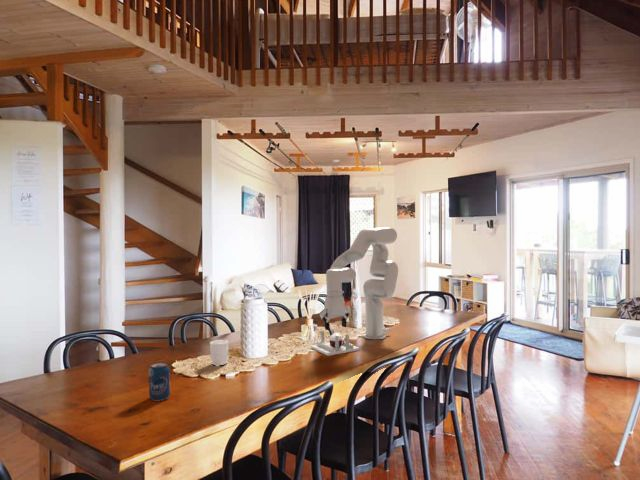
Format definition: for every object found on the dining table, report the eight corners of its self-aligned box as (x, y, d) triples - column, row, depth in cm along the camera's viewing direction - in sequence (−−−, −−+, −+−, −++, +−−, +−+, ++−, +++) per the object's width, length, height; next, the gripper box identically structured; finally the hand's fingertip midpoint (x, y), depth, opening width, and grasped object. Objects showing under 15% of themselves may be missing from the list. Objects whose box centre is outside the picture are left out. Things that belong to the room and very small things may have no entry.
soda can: (149, 403, 152) (149, 368, 152) (149, 396, 159) (148, 363, 158) (170, 399, 155) (170, 365, 155) (169, 392, 161) (168, 360, 161)
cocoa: (345, 348, 216) (347, 323, 215) (336, 350, 211) (337, 325, 211) (332, 343, 223) (333, 320, 222) (323, 345, 218) (324, 321, 218)
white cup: (207, 364, 195) (206, 342, 195) (222, 360, 201) (221, 338, 200) (217, 368, 189) (216, 345, 189) (232, 363, 195) (231, 341, 195)
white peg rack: (341, 342, 228) (341, 327, 228) (359, 350, 214) (359, 333, 214) (311, 348, 219) (311, 331, 219) (327, 355, 205) (327, 338, 205)
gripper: (345, 291, 224) (346, 324, 225) (315, 295, 215) (317, 329, 216) (353, 292, 217) (354, 327, 218) (323, 297, 209) (324, 332, 210)
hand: (335, 328), depth 217 cm, fingers open, 9 cm apart
